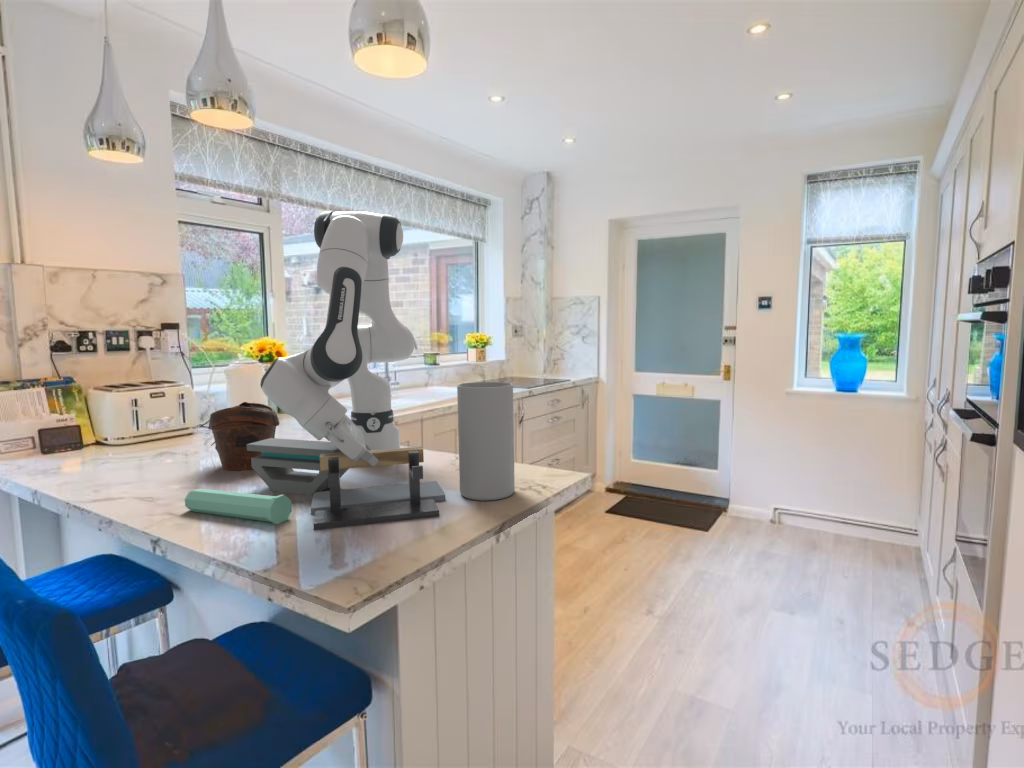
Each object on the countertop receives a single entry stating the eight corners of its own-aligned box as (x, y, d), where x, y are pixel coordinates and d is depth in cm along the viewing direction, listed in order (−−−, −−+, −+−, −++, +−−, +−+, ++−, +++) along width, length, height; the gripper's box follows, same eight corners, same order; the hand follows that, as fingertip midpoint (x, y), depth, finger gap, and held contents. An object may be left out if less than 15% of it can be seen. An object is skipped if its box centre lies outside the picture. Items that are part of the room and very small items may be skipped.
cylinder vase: (521, 487, 133) (519, 382, 130) (504, 503, 121) (502, 388, 119) (472, 484, 137) (469, 381, 134) (451, 499, 125) (448, 387, 122)
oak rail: (320, 467, 123) (320, 454, 123) (421, 459, 129) (421, 446, 129) (320, 470, 120) (319, 457, 120) (423, 462, 127) (423, 449, 126)
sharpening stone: (249, 488, 136) (246, 444, 135) (273, 480, 143) (270, 438, 142) (335, 497, 128) (333, 450, 127) (356, 488, 135) (354, 443, 134)
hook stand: (315, 516, 115) (312, 458, 114) (433, 504, 122) (431, 449, 120) (313, 529, 107) (310, 468, 106) (439, 516, 114) (437, 457, 113)
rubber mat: (314, 497, 128) (313, 492, 128) (436, 485, 136) (436, 480, 136) (311, 514, 116) (310, 508, 116) (445, 500, 124) (445, 494, 124)
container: (182, 483, 119) (273, 493, 110) (206, 487, 124) (294, 496, 115) (175, 512, 118) (266, 524, 108) (199, 514, 123) (288, 526, 114)
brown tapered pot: (261, 453, 174) (256, 396, 172) (294, 463, 161) (290, 401, 159) (199, 466, 160) (194, 403, 158) (230, 477, 147) (225, 410, 145)
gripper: (337, 415, 112) (389, 460, 115) (338, 403, 131) (382, 441, 135) (314, 439, 111) (367, 483, 115) (318, 423, 130) (364, 461, 134)
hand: (375, 460), depth 125 cm, fingers closed on oak rail, 3 cm apart
